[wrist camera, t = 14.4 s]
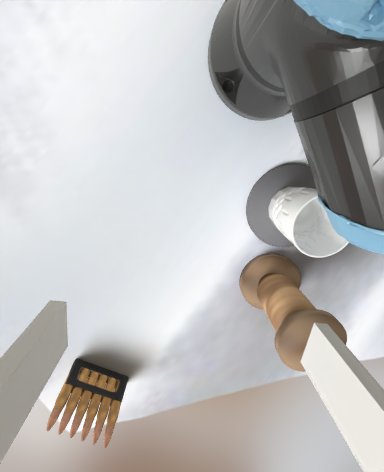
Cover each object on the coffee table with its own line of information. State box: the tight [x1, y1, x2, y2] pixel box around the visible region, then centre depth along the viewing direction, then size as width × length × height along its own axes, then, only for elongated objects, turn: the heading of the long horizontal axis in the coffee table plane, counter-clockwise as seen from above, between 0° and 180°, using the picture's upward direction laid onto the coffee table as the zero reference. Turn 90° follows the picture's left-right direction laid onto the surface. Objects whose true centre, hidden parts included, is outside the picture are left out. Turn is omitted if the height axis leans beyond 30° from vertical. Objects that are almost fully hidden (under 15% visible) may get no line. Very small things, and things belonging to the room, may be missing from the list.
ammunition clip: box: [47, 359, 128, 448], centre depth 42 cm, size 11×2×12 cm, turn 61°
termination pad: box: [246, 164, 317, 247], centre depth 39 cm, size 13×13×1 cm
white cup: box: [268, 186, 349, 258], centre depth 34 cm, size 8×8×10 cm
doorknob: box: [240, 254, 347, 371], centre depth 36 cm, size 10×10×15 cm
